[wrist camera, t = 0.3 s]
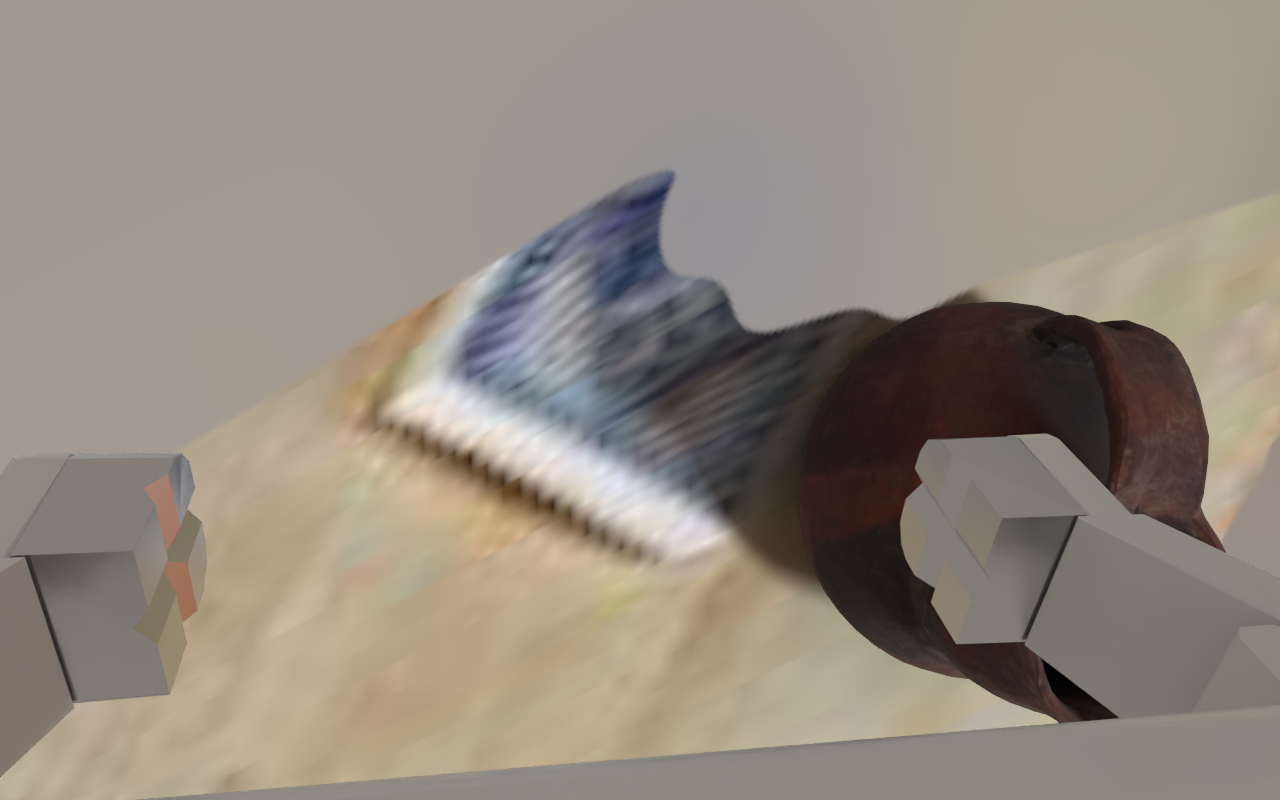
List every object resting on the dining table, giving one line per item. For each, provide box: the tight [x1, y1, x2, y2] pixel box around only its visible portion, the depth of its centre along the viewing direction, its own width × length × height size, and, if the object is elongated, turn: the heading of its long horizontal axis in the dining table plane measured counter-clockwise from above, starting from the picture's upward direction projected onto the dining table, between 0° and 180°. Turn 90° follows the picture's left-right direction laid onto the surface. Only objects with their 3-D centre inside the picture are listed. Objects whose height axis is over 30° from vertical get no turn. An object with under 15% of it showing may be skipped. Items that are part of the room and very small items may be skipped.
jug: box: [798, 302, 1226, 723], centre depth 58 cm, size 25×25×25 cm
